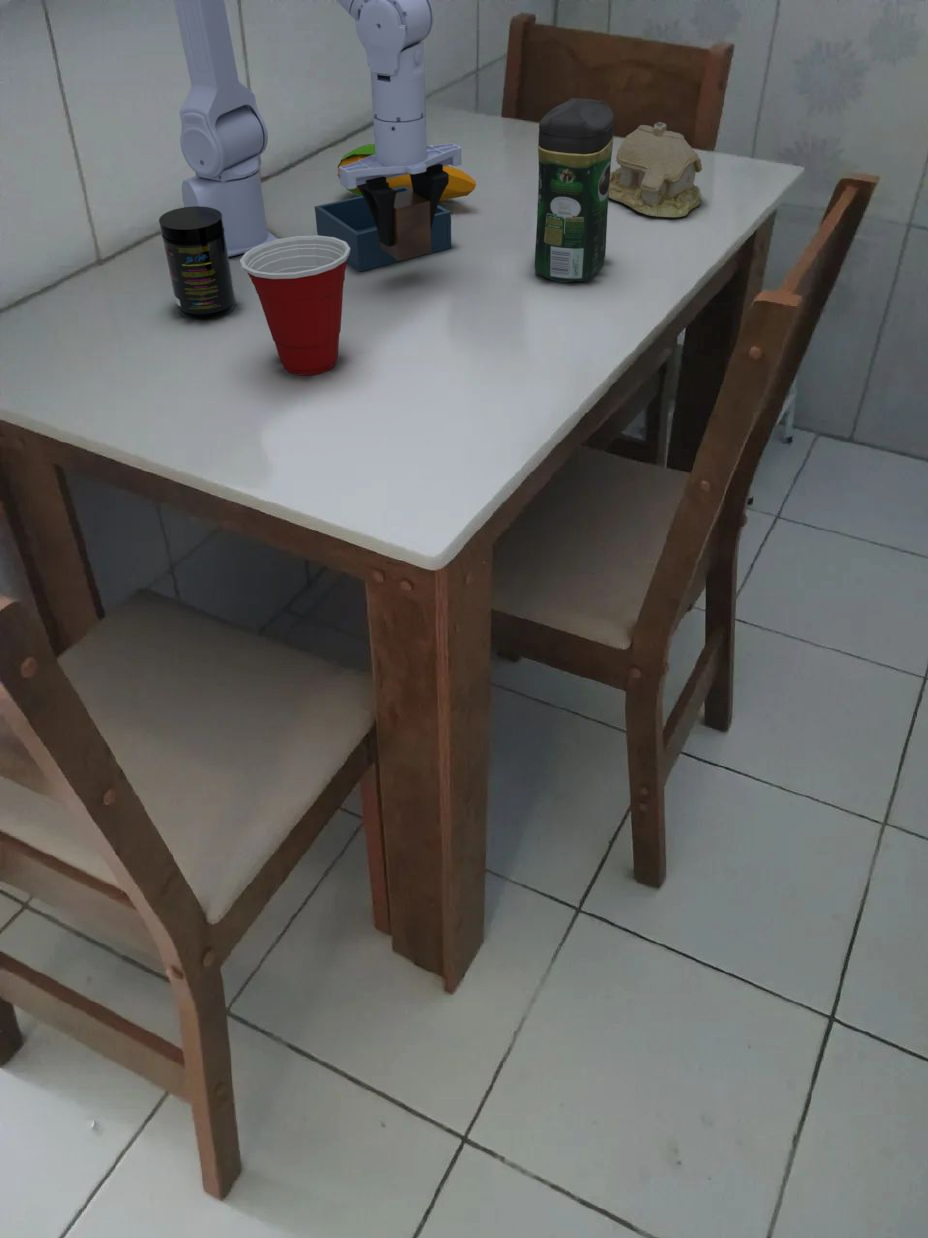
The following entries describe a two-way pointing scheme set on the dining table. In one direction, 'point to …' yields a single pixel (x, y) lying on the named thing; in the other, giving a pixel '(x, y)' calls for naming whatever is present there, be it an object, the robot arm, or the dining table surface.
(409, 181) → the corn
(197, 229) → the supplement container
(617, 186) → the ceramic model
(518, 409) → the dining table surface
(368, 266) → the bin
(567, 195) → the coffee jar
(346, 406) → the dining table surface
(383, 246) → the block
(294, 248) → the plastic cup
